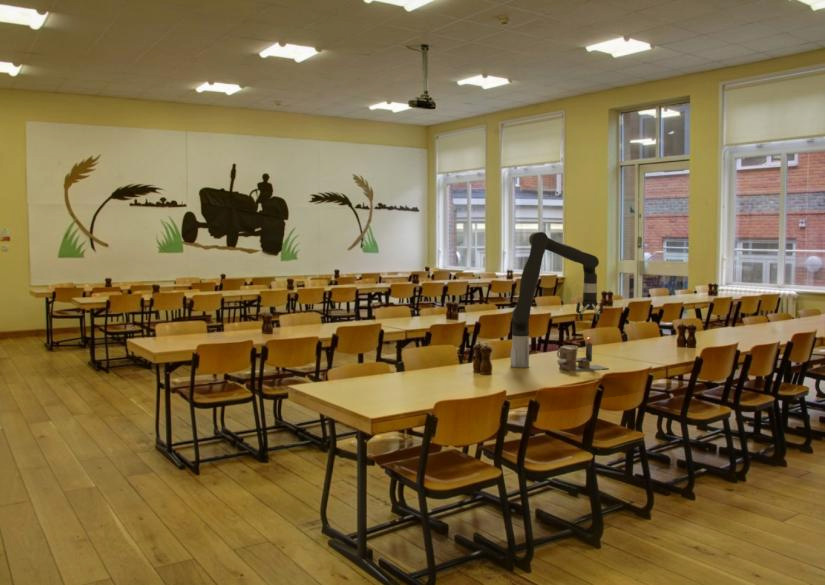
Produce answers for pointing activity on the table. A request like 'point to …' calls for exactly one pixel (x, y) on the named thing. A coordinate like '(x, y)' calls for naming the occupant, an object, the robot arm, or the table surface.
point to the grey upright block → (568, 358)
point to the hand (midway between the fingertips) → (589, 320)
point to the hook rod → (588, 353)
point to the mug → (568, 346)
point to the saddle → (584, 364)
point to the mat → (592, 367)
